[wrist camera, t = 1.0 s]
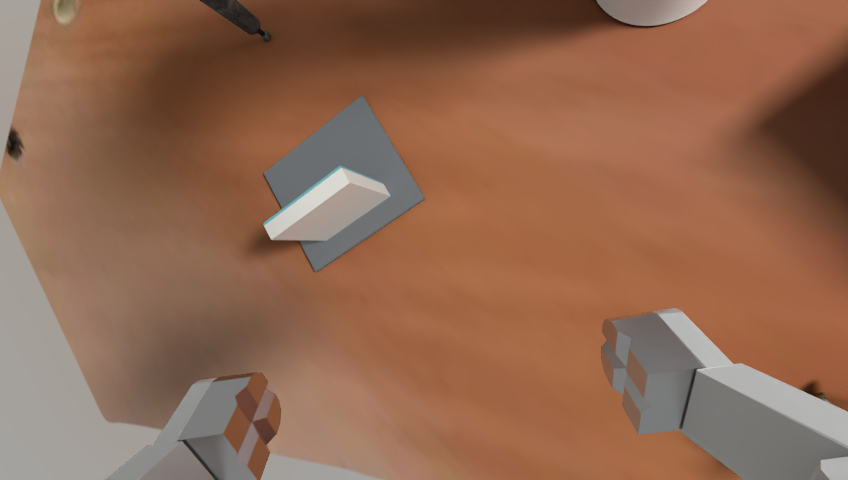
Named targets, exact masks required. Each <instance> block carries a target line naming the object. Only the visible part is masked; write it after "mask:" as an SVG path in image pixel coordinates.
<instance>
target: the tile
mask: <svg viewBox="0 0 848 480" xmlns="http://www.w3.org/2000/svg"><path fill="white" fill-rule="evenodd" d="M389 197H390V194H389V192H388V191H387V189H386V187H385V186H384V184H383V182H380V181H378V180H375V179H373V178H370V177H368V176H365V175H363V174H360V173H358V172H355V171H353V170H350V169H348V168H345V167H343V166H339V167H337V168H336V169H335V170H333V171H332V172H331V173H329V174H328V175H327V176H325V177H324V178H323V179H321V180H320V181H319V182H317V183H316V184H315V185H313V186H312V187H311V188H309V189H308V190H307V191H305V192H304V193H303V194H301V195H300V196H299V197H297V198H296V199H295V200H293V201H292V202H291V203H289V204H288V205H287V206H285V207H284V208H283V209H281V210H280V211H279V212H277V213H276V214H275V215H273V216H272V217H271V218H269V219H268V220H267V221H265V222H264V223H263V225H264V227H265V229H266V231H267V233H268V235H269V236H270V238H271V240H313V241H327V240H328V239H330V238H331V237H332V236H334V235H335V234H337V233H338V232H340V231H341V230H343V229H344V228H345V227H347V226H348V225H350V224H351V223H353V222H354V221H355V220H357V219H358V218H360V217H361V216H363V215H364V214H366V213H367V212H368V211H370V210H371V209H373V208H374V207H376V206H377V205H378V204H380V203H381V202H383V201H384V200H386V199H387V198H389Z"/></svg>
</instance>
